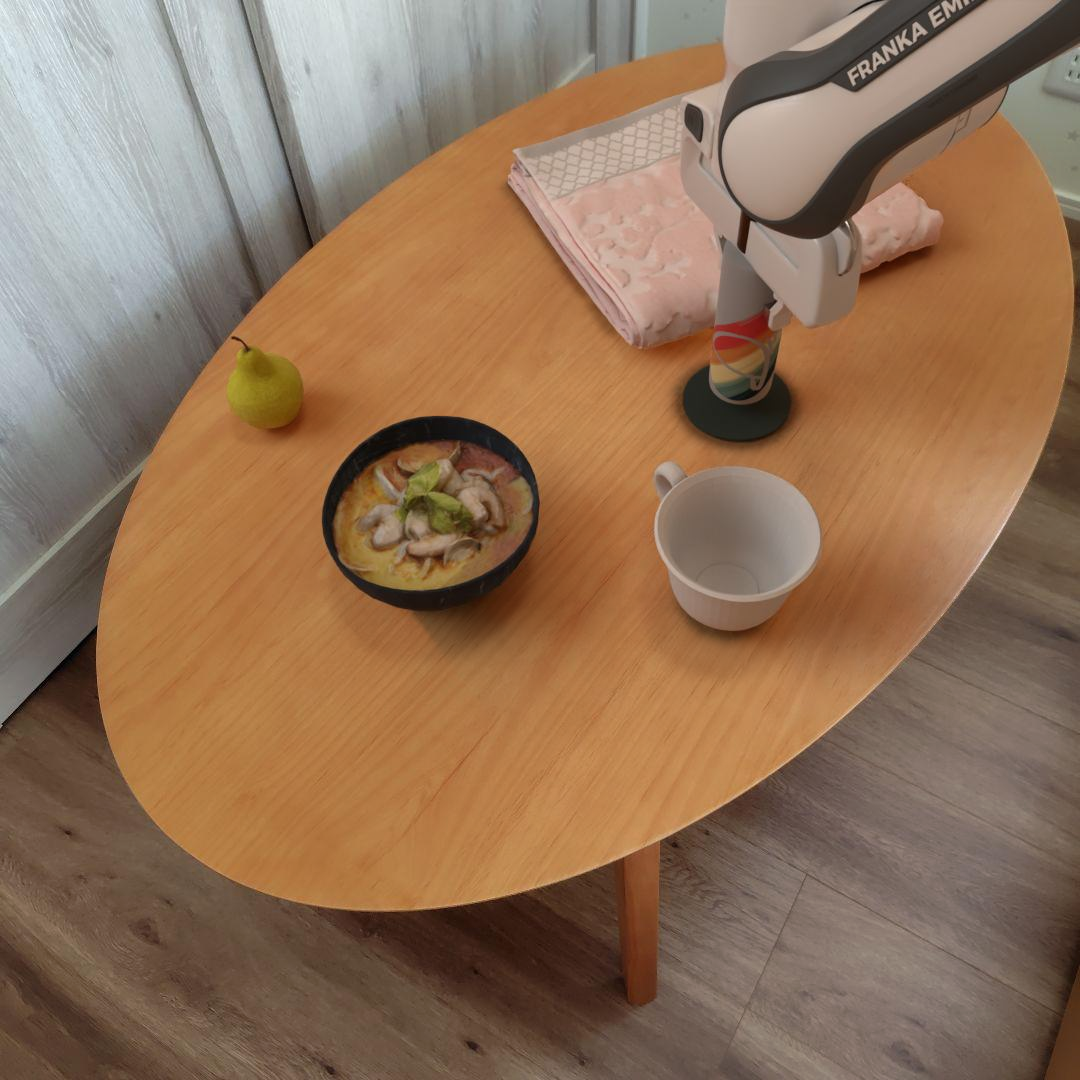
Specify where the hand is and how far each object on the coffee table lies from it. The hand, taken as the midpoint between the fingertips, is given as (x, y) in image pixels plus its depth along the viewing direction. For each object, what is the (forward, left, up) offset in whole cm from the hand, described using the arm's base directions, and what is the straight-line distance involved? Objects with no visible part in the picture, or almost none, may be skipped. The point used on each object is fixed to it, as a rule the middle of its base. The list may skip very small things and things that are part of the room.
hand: (752, 297), depth 78 cm
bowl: (+31, +5, -13) cm, 34 cm away
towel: (-11, -25, -13) cm, 30 cm away
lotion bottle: (0, 0, -10) cm, 10 cm away
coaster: (0, 0, -13) cm, 13 cm away
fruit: (+40, -18, -13) cm, 46 cm away
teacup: (+12, +17, -13) cm, 24 cm away
